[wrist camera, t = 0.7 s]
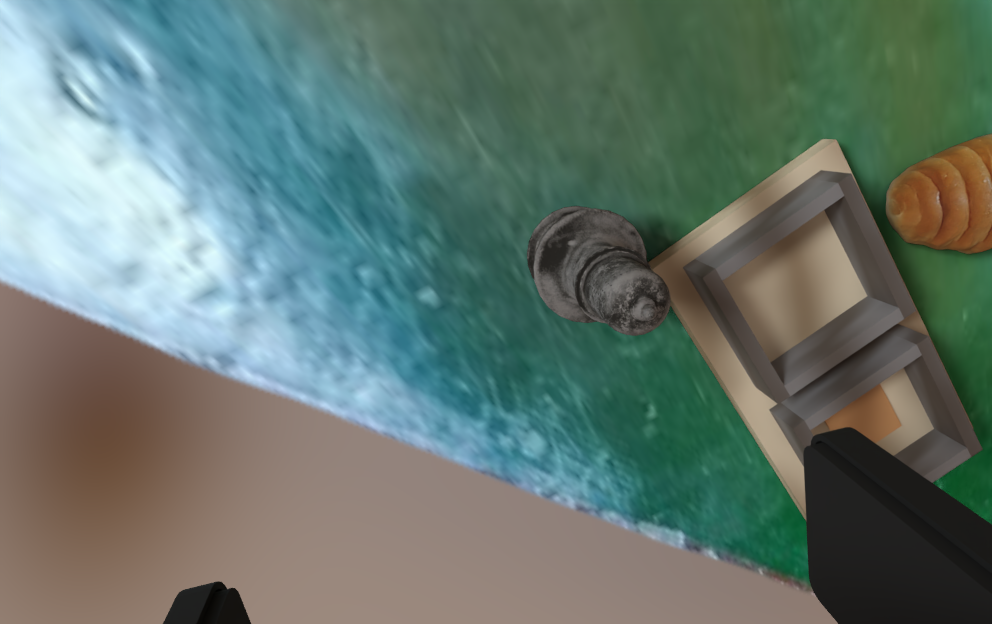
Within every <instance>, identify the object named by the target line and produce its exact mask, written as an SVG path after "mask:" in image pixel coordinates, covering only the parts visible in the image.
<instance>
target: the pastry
mask: <svg viewBox="0 0 992 624" xmlns="http://www.w3.org/2000/svg"><path fill="white" fill-rule="evenodd" d="M886 215H887V218H888V221H889V223H890V225H891V226H892V228H893V229H894V230H895V231H896V232H897V233H898V234H899V235H900V236H901V237H902V239H903V240H904V241H905V242H907V243H913V244H920V245H925V246H928V247H930V248H933V249H937V250H944V249H951V250H957V251H959V252H962V253H966V254H971V253H978V252H983V251H986V250H988V249H991V248H992V134H988V135H984V136H980V137H977V138H974V139H972V140H970V141H967V142H964V143H961V144H958V145H955V146H953V147H950V148H948V149H946V150H944V151H942V152H940V153H937V154H935V155H933V156H931V157H929V158H927V159H925V160H922V161H920V162H918V163H916V164H914V165H912V166H910V167H908V168H907V169H906V170H905V171H904V172H903V173H902V174H901V175H900V176H898V177H897V178H896V179H895V180H893V181H892V182H891V184H890V186H889V189H888V191H887V201H886Z"/></svg>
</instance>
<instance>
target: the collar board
mask: <svg viewBox="0 0 992 624" xmlns="http://www.w3.org/2000/svg"><path fill="white" fill-rule="evenodd" d="M648 263H649V265H650V266H651V270H652V271H653V272H655V273H656V274H658V275H659V276H660V277H661V278H662V279H663V280H664V282H665V283H666V285H667V287H668V289H669V292H670V297H671V304H670V305H671V307H672V309H673V310H674V312H675V313H676V315H677V317H678V318H679V320H680V321H681V323H682V325H683V326H684V328H685V329H686V331H687V332H688V334H689V336H690V337H691V339H692V340H693V342H694V344H695V345H696V347H697V348H698V350H699V352H700V353H701V355H702V356H703V358H704V360H705V361H706V363H707V364H708V366H709V367H710V369H711V371H712V372H713V374H714V375H715V377H716V379H717V380H718V382H719V383H720V385H721V387H722V388H723V390H724V391H725V393H726V394H727V396H728V398H729V399H730V401H731V402H732V404H733V406H734V407H735V409H736V410H737V412H738V414H739V415H740V417H741V418H742V420H743V421H744V423H745V425H746V426H747V428H748V429H749V431H750V433H751V434H752V436H753V437H754V439H755V441H756V442H757V444H758V445H759V447H760V448H761V450H762V452H763V453H764V455H765V456H766V458H767V460H768V461H769V463H770V464H771V466H772V468H773V469H774V471H775V472H776V474H777V476H778V477H779V479H780V480H781V482H782V483H783V485H784V487H785V488H786V490H787V491H788V493H789V495H790V496H791V498H792V499H793V501H794V503H795V504H796V506H797V507H798V509H799V510H800V512H801V514H802V515H803V517H804V518H805V520H806V502H805V481H804V459H803V453H804V449H805V447H807V446H810V445H811V440H812V438H813V436H815V435H816V434H820V433H824V432H828V431H832V430H837V429H841V428H845V427H851V428H853V429H856V430H857V431H859V432H860V433H861V434H863V435H864V436H866V437H867V438H869V439H870V440H871V441H873V442H874V443H876V444H877V445H879V446H880V447H881V448H883V449H884V450H886V451H887V452H889V453H890V454H891V455H893V456H894V457H896V458H897V459H899V460H900V461H901V462H903V463H904V464H906V465H907V466H909V467H910V468H911V469H913V470H914V471H916V472H917V473H919V474H920V475H921V476H923V477H924V478H926V479H927V480H929V481H930V482H931V483H933V482H934V481H936V480H937V479H939V478H940V477H942V476H943V475H945V474H946V473H948V472H949V471H951V470H952V469H954V468H955V467H957V466H958V465H960V464H961V463H963V462H964V461H966V460H967V459H969V458H970V457H972V456H973V455H975V454H976V453H978V452H980V451H981V450H983V449H982V447H981V445H980V443H979V441H978V439H977V437H976V434H975V432H974V430H973V426H972V424H971V422H970V420H969V418H968V416H967V414H966V411H965V409H964V407H963V405H962V403H961V401H960V399H959V397H958V395H957V392H956V390H955V388H954V386H953V384H952V382H951V380H950V378H949V376H948V374H947V371H946V369H945V367H944V365H943V363H942V361H941V359H940V357H939V355H938V353H937V350H936V348H935V346H934V344H933V342H932V340H931V338H930V336H929V334H928V331H927V329H926V327H925V325H924V323H923V321H922V319H921V317H920V315H919V313H918V310H917V308H916V306H915V304H914V302H913V300H912V298H911V296H910V294H909V292H908V289H907V287H906V285H905V283H904V281H903V279H902V277H901V275H900V273H899V270H898V268H897V266H896V264H895V262H894V260H893V258H892V256H891V254H890V252H889V249H888V247H887V245H886V243H885V241H884V239H883V237H882V235H881V233H880V231H879V228H878V226H877V224H876V222H875V220H874V218H873V216H872V214H871V212H870V209H869V207H868V205H867V203H866V201H865V199H864V197H863V195H862V193H861V191H860V188H859V186H858V184H857V182H856V180H855V178H854V176H853V174H852V172H851V169H850V167H849V165H848V163H847V161H846V159H845V157H844V155H843V153H842V151H841V148H840V146H839V144H838V142H837V140H833V139H822V140H821V141H819V142H818V143H816V144H815V145H813V146H812V147H811V148H809V149H808V150H806V151H805V152H804V153H802V154H801V155H799V156H798V157H796V158H795V159H794V160H792V161H791V162H789V163H788V164H787V165H785V166H784V167H782V168H781V169H779V170H778V171H777V172H775V173H774V174H772V175H771V176H770V177H768V178H767V179H765V180H764V181H763V182H761V183H760V184H758V185H757V186H755V187H754V188H753V189H751V190H750V191H748V192H747V193H746V194H744V195H743V196H741V197H740V198H738V199H737V200H736V201H734V202H733V203H731V204H730V205H729V206H727V207H726V208H724V209H723V210H721V211H720V212H719V213H717V214H716V215H714V216H713V217H712V218H710V219H709V220H707V221H706V222H704V223H703V224H702V225H700V226H699V227H697V228H696V229H695V230H693V231H692V232H690V233H689V234H687V235H686V236H685V237H683V238H682V239H680V240H679V241H678V242H676V243H675V244H673V245H672V246H671V247H669V248H668V249H666V250H665V251H663V252H662V253H661V254H659V255H658V256H656V257H655V258H654V259H652V260H651V261H649V262H648Z"/></svg>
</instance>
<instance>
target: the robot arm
mask: <svg viewBox="0 0 992 624" xmlns="http://www.w3.org/2000/svg"><path fill="white" fill-rule="evenodd" d="M803 459H804V481H805V502H806V523H807V545H808V566H809V579H810V583H811V586H812V589H813V591H814V593H815V595H816V597H817V598H818V600H819V601H820V602H821V604H822V605H823V606H824V607H825V608H826V609H827V611H828V612H829V613H830V614H831V615H832V617H833V618H834V619H835V620H836V621H837V622H838V624H992V525H991V524H990V523H989V522H987V521H986V520H984V519H983V518H981V517H980V516H979V515H977V514H976V513H974V512H973V511H971V510H970V509H969V508H967V507H966V506H964V505H963V504H961V503H960V502H959V501H957V500H956V499H954V498H953V497H951V496H950V495H949V494H947V493H946V492H944V491H943V490H941V489H940V488H939V487H937V486H936V485H934V484H933V483H931V482H930V481H929V480H927V479H926V478H924V477H923V476H921V475H920V474H919V473H917V472H916V471H914V470H913V469H911V468H910V467H909V466H907V465H906V464H904V463H903V462H901V461H900V460H899V459H897V458H896V457H894V456H893V455H891V454H890V453H889V452H887V451H886V450H884V449H883V448H881V447H880V446H879V445H877V444H876V443H874V442H873V441H871V440H870V439H869V438H867V437H866V436H864V435H863V434H861V433H860V432H859V431H857V430H856V429H853V428H851V427H845V428H841V429H837V430H832V431H828V432H824V433H820V434H816V435H815V436H813V438H812V440H811V445H810V446H807V447H805V449H804V453H803ZM163 624H251V622H250V620H249V617H248V615H247V612H246V610H245V607H244V605H243V602H242V600H241V597H240V595H239V593H238V591H237V590H236V589H235V588H230V589H227V588H226V586H225V585H224V584H223V583H222V582H214V583H210V584H206V585H201V586H197V587H194V588H189V589H185V590H183V591H181V592H179V594H178V595H177V597H176V598H175V600H174V602H173V605H172V607H171V609H170V611H169V613H168V615H167V617H166V619H165V621H164V623H163Z"/></svg>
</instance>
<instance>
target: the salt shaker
mask: <svg viewBox="0 0 992 624" xmlns="http://www.w3.org/2000/svg"><path fill="white" fill-rule="evenodd" d="M527 260H528V267H529V270H530V272H531V275H532V277H533V279H534V280H535V284H536V286H537V289H538V292H539V295H540V296H541V298H542V299H543V300H544V302H545V303H546V304H547V306H548V307H549V308H550V309H551V310H553V311H554V312H555V313H557V314H558V315H559V316H561V317H564V318H566V319H569V320H571V321H575V322H584V323H590V322H597V321H598V322H601V323H607V324H608V325H609V326H610V327H612V328H613V329H614V330H616V331H618V332H620V333H623V334H626V335H634V336H635V335H642V334H645V333H648V332H650V331H652V330H654V329H655V328H656V327H658V326H659V325H660V324H661V323H662V322H663V320H664V319H665V317H666V316H667V314H668V312H669V308H670V304H671V297H670V292H669V289H668V287H667V285H666V283H665V282H664V280H663V279H662V278H661V277H660V276H659V275H658V274H656V273H655V272H653V271H652V270H651V266H650V265H649V263H648V262H647V256H646V250H645V246H644V243H643V240H642V238H641V236H640V235H639V233H638V231H637V230H636V228H635V227H634V226H633V225H632V224H631V223H630V222H629V221H627V220H626V219H625V218H624V217H622V216H620V215H618V214H616V213H613V212H611V211H608V210H601V209H595V208H594V209H590V208H587V207H580V206H572V207H564V208H562V209H559V210H557V211H554V212H552V213H551V214H549V215H548V216H547V217H545V218H544V219H543V220H542V221H541V222H540V223H539V225H538V226H537V227H536V228H535V230H534V232H533V234H532V236H531V238H530V240H529V245H528V250H527Z"/></svg>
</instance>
